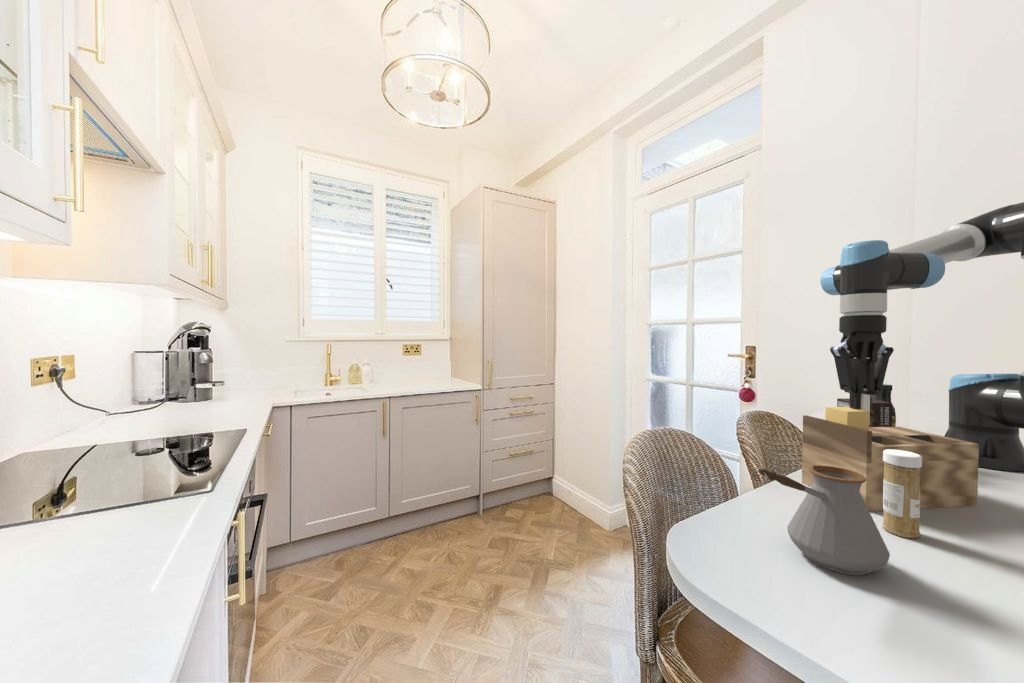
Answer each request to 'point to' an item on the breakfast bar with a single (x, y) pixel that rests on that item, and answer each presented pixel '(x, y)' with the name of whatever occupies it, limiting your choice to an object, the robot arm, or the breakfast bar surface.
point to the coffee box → (875, 412)
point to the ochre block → (848, 416)
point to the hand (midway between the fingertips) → (860, 423)
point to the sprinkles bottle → (901, 492)
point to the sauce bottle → (886, 399)
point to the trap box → (859, 450)
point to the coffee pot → (835, 522)
